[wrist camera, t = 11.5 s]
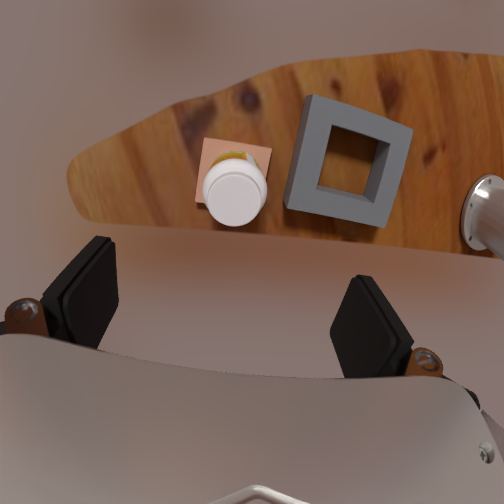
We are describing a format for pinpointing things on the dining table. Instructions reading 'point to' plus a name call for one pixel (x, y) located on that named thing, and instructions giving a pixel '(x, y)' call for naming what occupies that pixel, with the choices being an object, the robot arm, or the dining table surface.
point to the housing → (312, 155)
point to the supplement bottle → (234, 188)
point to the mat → (219, 146)
